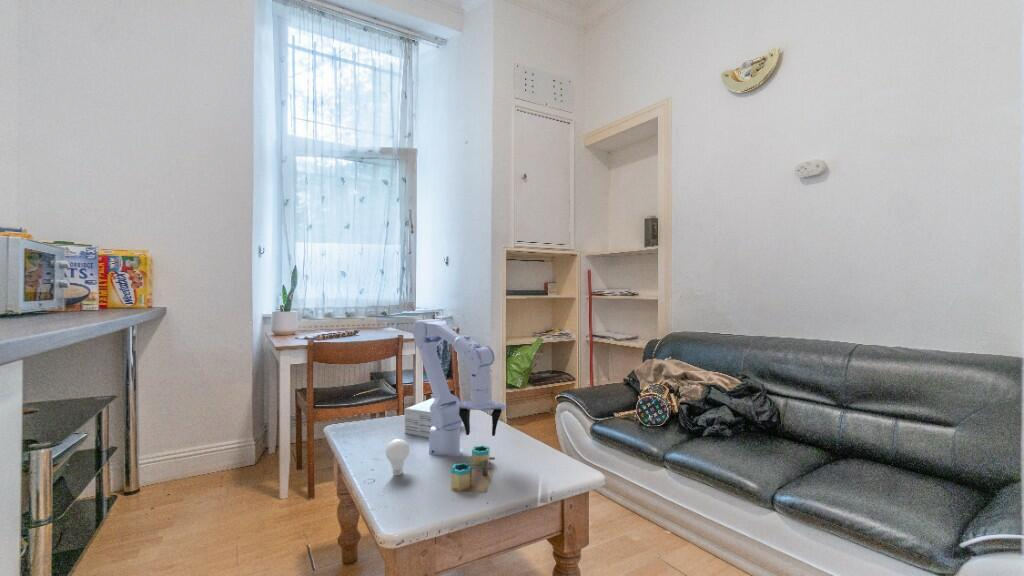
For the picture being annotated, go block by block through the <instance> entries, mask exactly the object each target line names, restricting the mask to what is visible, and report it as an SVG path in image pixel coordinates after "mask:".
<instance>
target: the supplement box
mask: <svg viewBox="0 0 1024 576" xmlns="http://www.w3.org/2000/svg"><path fill="white" fill-rule="evenodd" d="M434 400H435V399H434V397H431V398H428V399H426V400H424V401H421V402H419V403H416V404H413V405H411V406H408V407H405V408H404V434H409V435H414V436H419V437H425V438H429V433H430V429H431V427H432V426H434V425H433V423H432V421H431V411H430V406H431V405H432V403H433V402H434ZM443 407H444V406H443ZM440 408H441V407H440Z"/></svg>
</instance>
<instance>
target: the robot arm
mask: <svg viewBox="0 0 1024 576" xmlns="http://www.w3.org/2000/svg"><path fill="white" fill-rule="evenodd" d="M411 334H412V335H413V338H414V342H415V345H416V347H417V349H418V352H419V354H420V359H421V361H422V364H423V368H424V371H425V374H426V377H427V379H428V382H429V386H430V389H431V391H432V395H433V398H434V399H435V400H434V402H433V403H432V405H431V406H430V411H431V421H432V423H433V425H434V426H432V427H431V429H430V433H429V437H428V455H429V456H431V455H432V456H456V457H457V456H461V455H462V453H463V451H464V448H461V435H460V434H461V426H462V424H463V426H464V430H465V435H466V436H469V434H470V433H471V424H470V423H471V422H470V420H471V418H470V417H471V411H492V412H491V424H492V425H491V426H492V427H491V436H492V437H495V436H496V432H497V425H498V422H499V420H500V417H501V414H502V413H503V412H506V402H497V401H491V365H493V363H494V361H495V353H494V351H493V349H492V348H491V347H490V346H488V345H485V346H481V343H479V342H476V341H475V340H473V339H471V336H470V335H468V334H466V335H465V334H464V335H460V334H459V333H457V332H456V331H455V330H454V329H452V328H451V327H450V326H449V325H448V322H447V321H446V320H444V319H443V318H442V317H441V318H437V319H436V318H435V319H434V318H433V319H432V318H431V319H423V320H422V319H418V320H416V321H415V322H414V325H413V327H412V333H411ZM443 340H444V341H446V342H448V344H451V345H452V346H453V350H454V351H455V352H456V353H457V354H458V355H460V356H461V357H462V358H464V359H465V360H466V363H467V366H468V371H469V373H470V400H469V401H460V399H459V398H458V396H456V395H454V394H452V393H451V391H450V387H449V385H448V382H447V378H446V375H445V372H444V370H443V367H442V364H441V362H440V361H441V360H440V358H439V355H438V352H437V347H438V346H439V345H440V344H441V343H442V341H443ZM443 406H444V407H443ZM440 407H441V408H440Z"/></svg>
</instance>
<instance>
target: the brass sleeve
mask: <svg viewBox="0 0 1024 576" xmlns="http://www.w3.org/2000/svg"><path fill="white" fill-rule="evenodd" d="M490 449H491V448H490V447H489V446H485V445H478V446H474V447H473V448H472V451H471V457H472V458H471V465H472V466H483V460H484V459H487V460H488V466H489V465H490V461H491V459H490V457H491V453H490V452H491V450H490Z"/></svg>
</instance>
